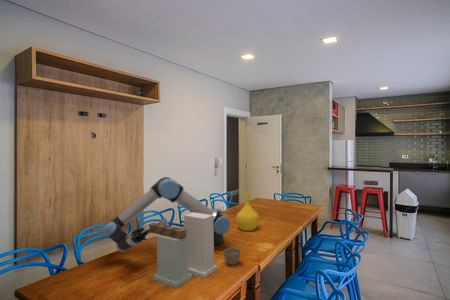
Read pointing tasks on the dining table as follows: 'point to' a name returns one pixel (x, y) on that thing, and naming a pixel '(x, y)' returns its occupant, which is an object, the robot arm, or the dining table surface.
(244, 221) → the vase
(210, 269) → the tall stand
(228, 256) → the beige round bowl
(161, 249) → the post
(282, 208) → the dining table surface
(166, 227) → the walnut beam
